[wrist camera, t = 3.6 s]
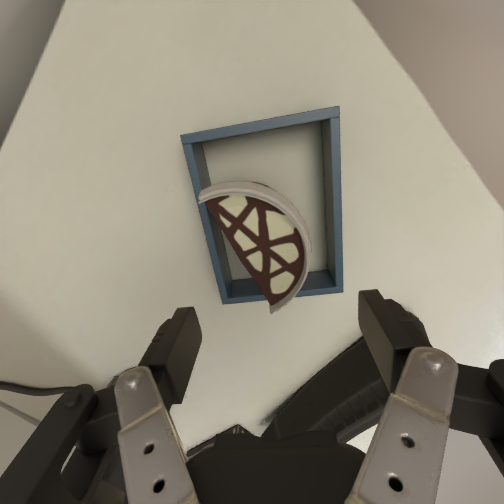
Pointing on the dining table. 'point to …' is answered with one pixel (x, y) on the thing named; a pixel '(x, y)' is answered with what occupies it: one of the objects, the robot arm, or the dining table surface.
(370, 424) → the magazine
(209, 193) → the food container
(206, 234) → the blue rectangular frame
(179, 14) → the dining table surface
